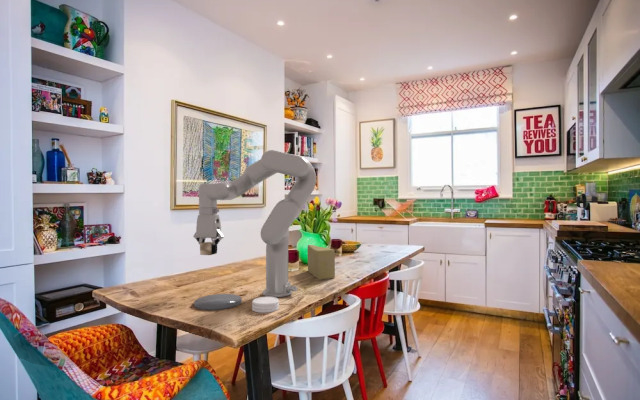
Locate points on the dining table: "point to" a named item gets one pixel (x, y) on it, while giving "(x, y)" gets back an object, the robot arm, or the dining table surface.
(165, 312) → the dining table surface
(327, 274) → the cheese
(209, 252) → the wooden cube
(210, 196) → the robot arm
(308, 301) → the dining table surface
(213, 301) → the cake plate
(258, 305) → the coaster
